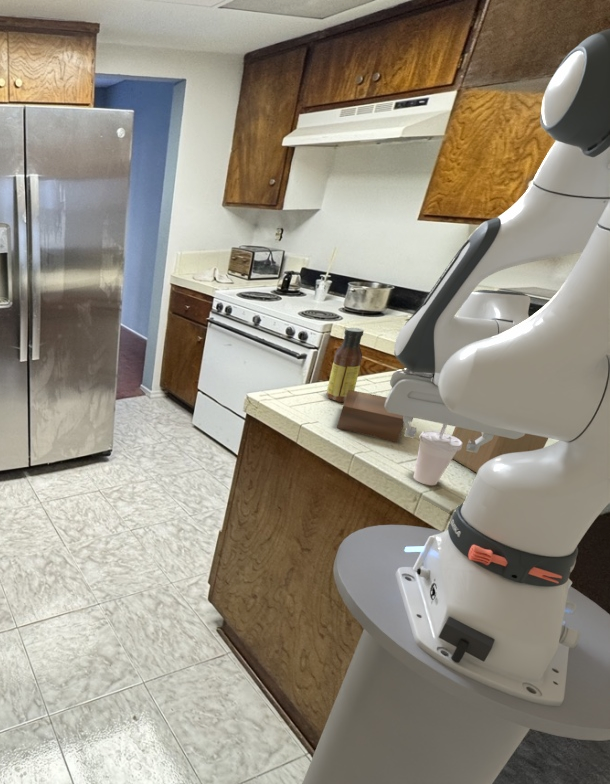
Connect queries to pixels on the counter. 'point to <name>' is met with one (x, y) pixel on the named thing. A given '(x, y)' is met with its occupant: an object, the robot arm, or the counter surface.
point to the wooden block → (492, 447)
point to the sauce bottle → (345, 366)
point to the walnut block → (369, 416)
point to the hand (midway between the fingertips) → (439, 443)
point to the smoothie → (435, 455)
